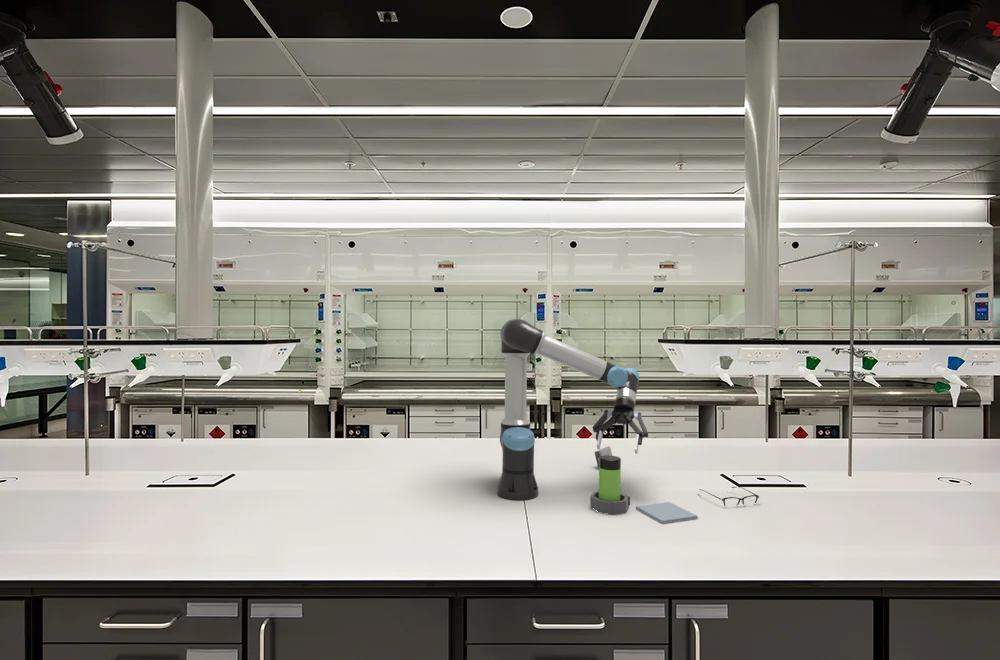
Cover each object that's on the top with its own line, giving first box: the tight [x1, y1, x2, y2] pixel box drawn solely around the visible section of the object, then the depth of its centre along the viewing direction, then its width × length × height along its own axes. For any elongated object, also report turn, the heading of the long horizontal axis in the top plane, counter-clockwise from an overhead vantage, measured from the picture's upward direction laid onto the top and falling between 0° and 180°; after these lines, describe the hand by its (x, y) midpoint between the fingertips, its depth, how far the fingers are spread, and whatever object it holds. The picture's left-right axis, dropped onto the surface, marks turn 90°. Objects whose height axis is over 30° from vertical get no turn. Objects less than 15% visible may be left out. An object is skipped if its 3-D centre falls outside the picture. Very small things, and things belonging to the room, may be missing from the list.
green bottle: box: [598, 455, 622, 502], centre depth 179 cm, size 7×7×17 cm
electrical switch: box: [594, 446, 613, 471], centre depth 230 cm, size 9×5×9 cm, turn 141°
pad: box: [635, 501, 699, 525], centre depth 174 cm, size 14×14×1 cm
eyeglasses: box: [699, 486, 760, 507], centre depth 190 cm, size 16×16×4 cm
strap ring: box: [589, 490, 631, 515], centre depth 179 cm, size 14×12×4 cm
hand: (616, 449), depth 188 cm, fingers open, 13 cm apart
